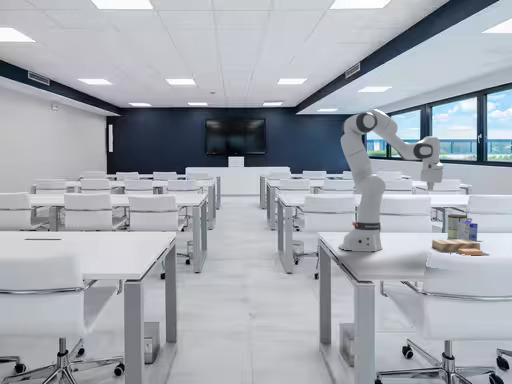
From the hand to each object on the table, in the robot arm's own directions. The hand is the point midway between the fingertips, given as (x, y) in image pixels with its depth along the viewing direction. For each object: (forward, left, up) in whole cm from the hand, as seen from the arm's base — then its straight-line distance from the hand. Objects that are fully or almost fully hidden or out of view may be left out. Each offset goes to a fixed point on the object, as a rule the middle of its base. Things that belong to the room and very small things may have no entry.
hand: (430, 190), depth 235 cm
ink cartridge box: (+19, -4, -30) cm, 36 cm away
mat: (+6, -27, -30) cm, 41 cm away
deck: (+6, -17, -30) cm, 35 cm away
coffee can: (+22, +13, -30) cm, 40 cm away
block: (+7, -31, -28) cm, 42 cm away
